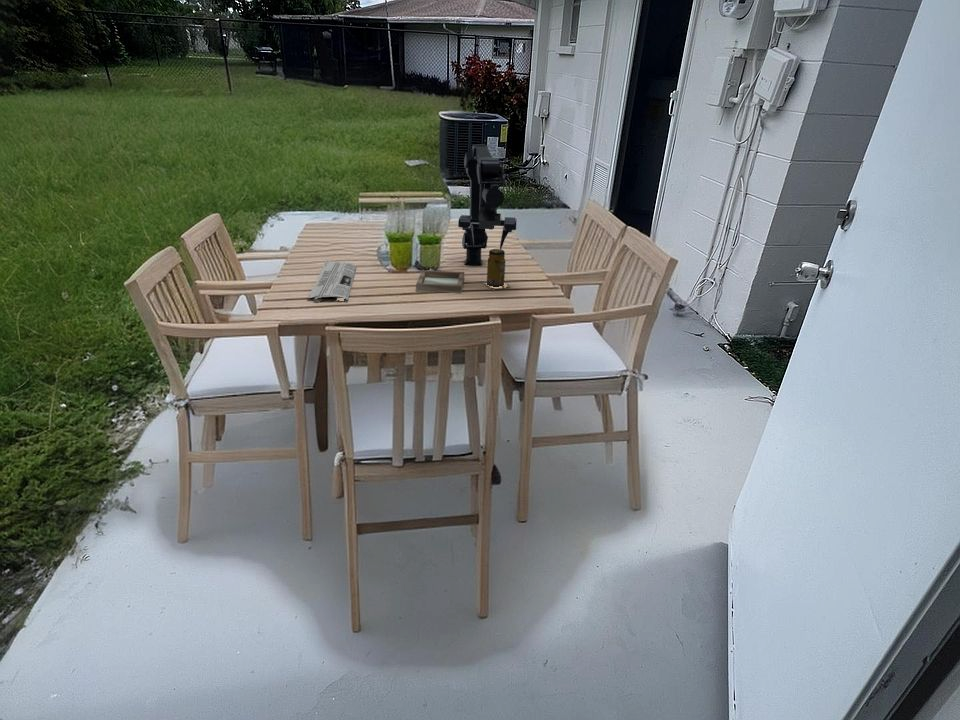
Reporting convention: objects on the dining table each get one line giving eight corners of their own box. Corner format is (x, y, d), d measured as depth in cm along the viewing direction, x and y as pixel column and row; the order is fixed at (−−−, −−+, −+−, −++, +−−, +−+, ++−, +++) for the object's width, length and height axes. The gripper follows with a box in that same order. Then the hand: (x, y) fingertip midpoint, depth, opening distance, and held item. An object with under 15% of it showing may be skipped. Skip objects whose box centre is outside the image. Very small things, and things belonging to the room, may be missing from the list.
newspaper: (348, 303, 178) (347, 293, 177) (307, 304, 177) (306, 293, 175) (356, 268, 209) (356, 259, 208) (322, 268, 208) (321, 259, 206)
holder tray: (421, 277, 201) (421, 270, 200) (464, 278, 201) (464, 271, 200) (416, 291, 188) (416, 284, 187) (461, 293, 188) (461, 286, 186)
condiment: (499, 280, 201) (500, 247, 195) (511, 287, 194) (513, 253, 189) (481, 283, 198) (482, 249, 192) (493, 290, 191) (494, 256, 186)
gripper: (456, 204, 174) (456, 254, 182) (517, 207, 174) (514, 257, 181) (460, 197, 184) (459, 244, 192) (517, 199, 183) (514, 247, 191)
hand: (486, 248), depth 188 cm, fingers open, 9 cm apart
